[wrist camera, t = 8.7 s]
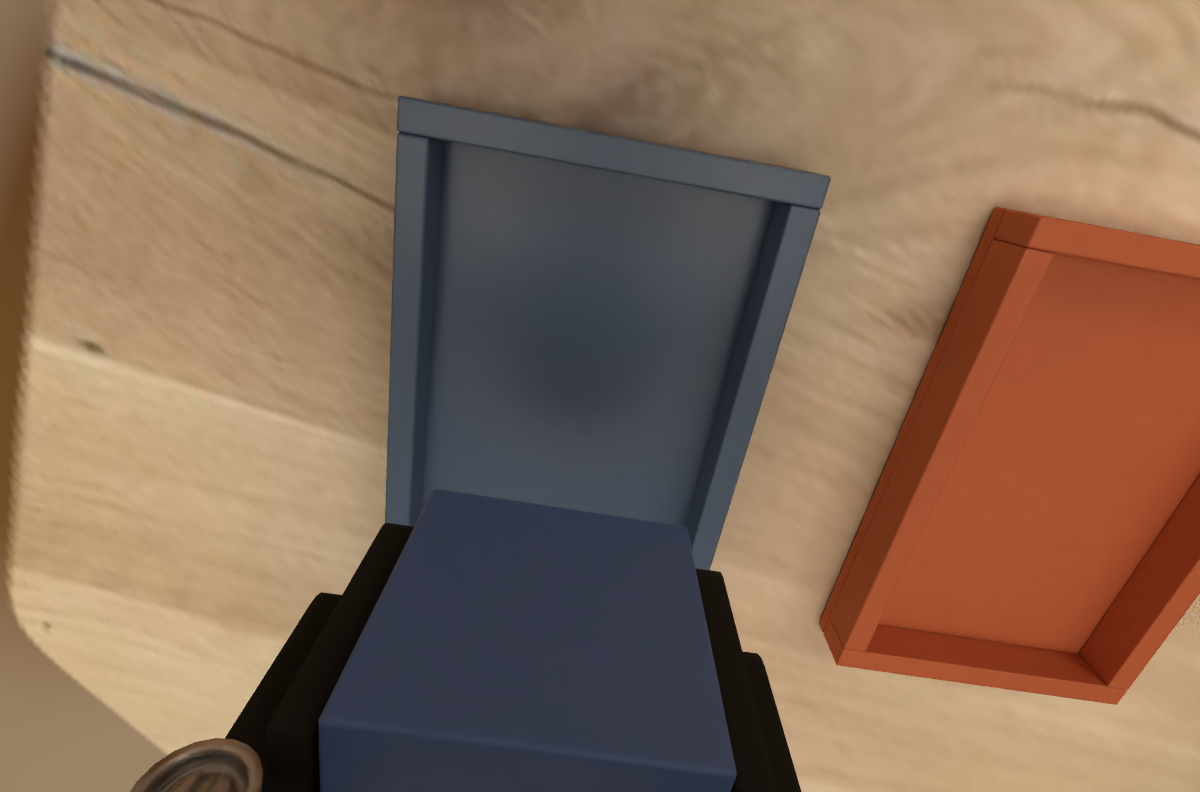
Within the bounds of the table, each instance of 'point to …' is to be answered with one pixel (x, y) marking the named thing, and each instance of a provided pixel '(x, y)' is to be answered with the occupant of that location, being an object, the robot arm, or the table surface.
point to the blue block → (531, 661)
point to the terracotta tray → (1040, 473)
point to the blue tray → (583, 316)
